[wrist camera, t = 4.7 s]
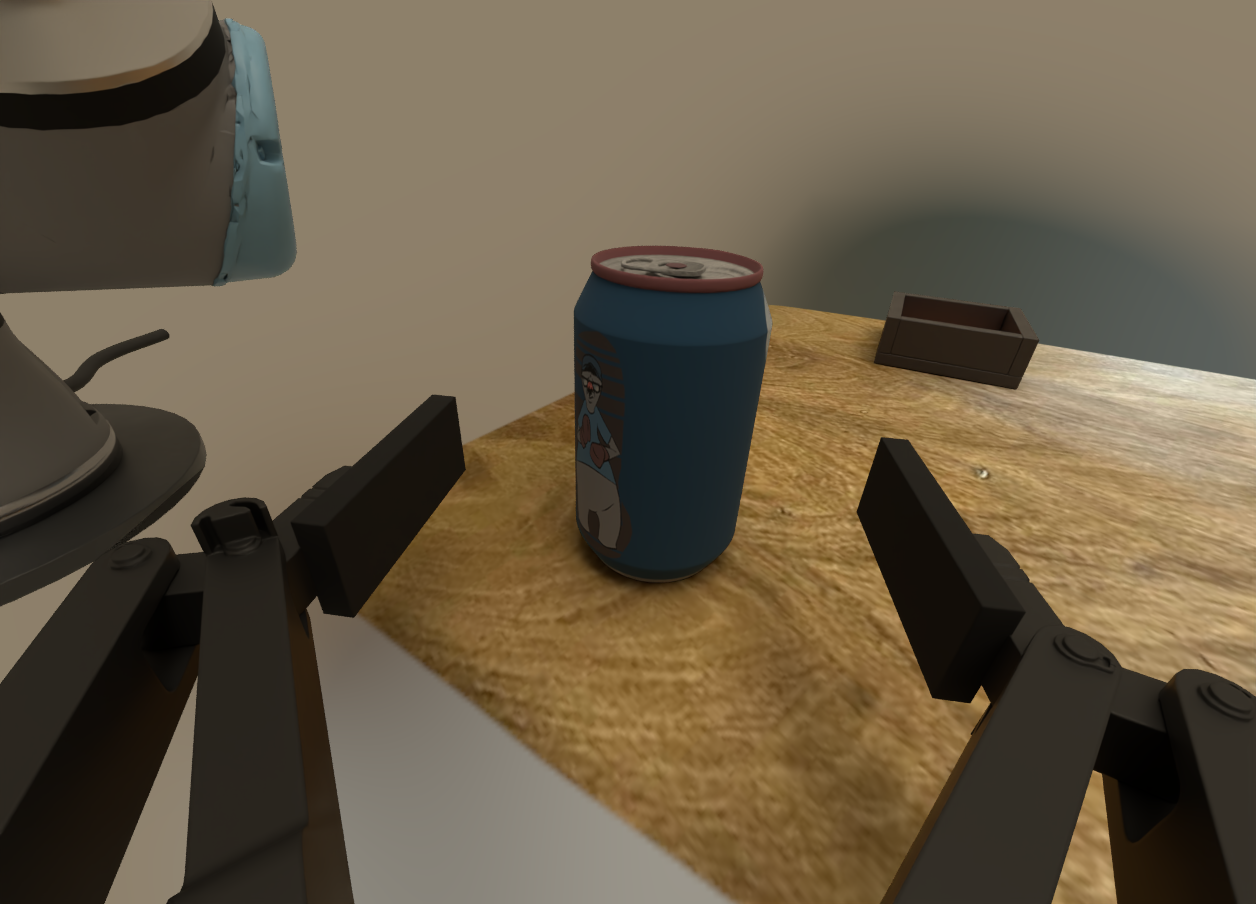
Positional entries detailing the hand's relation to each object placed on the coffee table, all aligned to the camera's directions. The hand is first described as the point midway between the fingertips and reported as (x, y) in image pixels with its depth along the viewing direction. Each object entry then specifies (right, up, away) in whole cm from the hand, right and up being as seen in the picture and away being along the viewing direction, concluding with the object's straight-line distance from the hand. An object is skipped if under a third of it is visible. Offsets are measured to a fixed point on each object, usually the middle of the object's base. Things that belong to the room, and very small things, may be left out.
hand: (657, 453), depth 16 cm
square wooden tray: (+27, +9, +30) cm, 42 cm away
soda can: (0, -4, +7) cm, 8 cm away
